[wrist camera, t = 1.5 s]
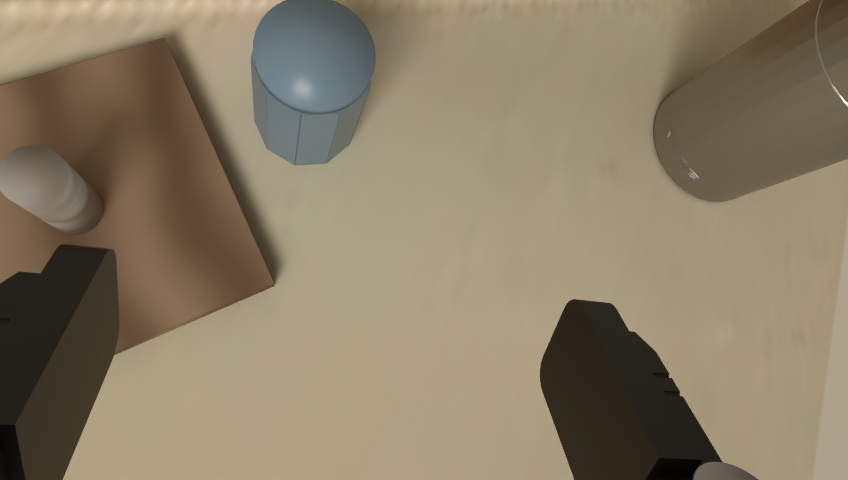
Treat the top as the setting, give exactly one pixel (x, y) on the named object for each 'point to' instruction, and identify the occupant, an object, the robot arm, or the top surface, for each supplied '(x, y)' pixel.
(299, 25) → the blue-grey rounded cylinder
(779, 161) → the robot arm
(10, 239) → the post dock
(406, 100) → the top surface
